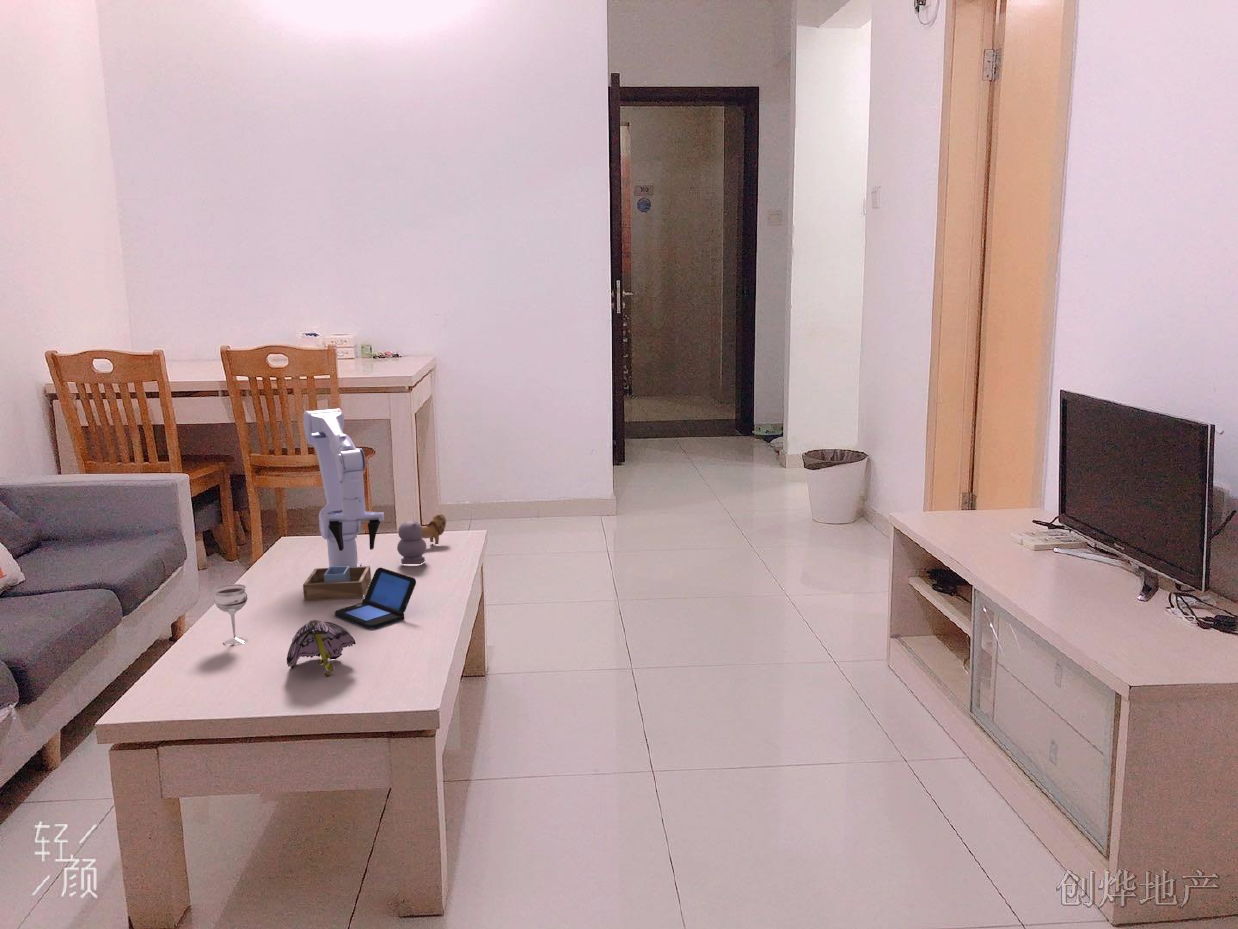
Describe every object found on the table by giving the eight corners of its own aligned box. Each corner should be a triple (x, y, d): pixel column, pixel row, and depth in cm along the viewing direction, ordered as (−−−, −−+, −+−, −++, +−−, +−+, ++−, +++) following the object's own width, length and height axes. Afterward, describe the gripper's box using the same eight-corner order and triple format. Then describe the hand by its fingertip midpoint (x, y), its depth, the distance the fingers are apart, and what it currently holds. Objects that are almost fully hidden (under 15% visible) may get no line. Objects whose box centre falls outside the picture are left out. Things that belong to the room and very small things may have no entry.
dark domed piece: (352, 607, 213) (338, 609, 198) (370, 660, 212) (356, 667, 197) (284, 630, 212) (265, 635, 197) (302, 684, 211) (283, 692, 196)
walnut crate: (316, 583, 263) (314, 568, 262) (371, 581, 264) (370, 566, 264) (304, 600, 249) (302, 584, 249) (362, 597, 251) (361, 582, 250)
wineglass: (218, 639, 224) (213, 586, 222) (251, 634, 227) (246, 582, 224) (218, 649, 218) (213, 595, 216) (252, 644, 220) (247, 591, 218)
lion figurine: (441, 540, 303) (439, 511, 301) (451, 544, 299) (449, 514, 297) (398, 550, 293) (396, 520, 291) (407, 554, 289) (405, 523, 287)
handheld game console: (332, 617, 238) (329, 579, 236) (380, 603, 248) (377, 566, 246) (371, 631, 227) (368, 591, 226) (420, 616, 237) (417, 577, 236)
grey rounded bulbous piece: (396, 560, 283) (394, 518, 280) (425, 557, 285) (422, 516, 283) (399, 569, 275) (397, 525, 272) (429, 565, 277) (426, 523, 275)
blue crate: (330, 583, 260) (329, 566, 259) (350, 583, 260) (349, 566, 259) (325, 592, 253) (323, 574, 252) (345, 591, 253) (344, 574, 253)
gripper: (320, 501, 253) (324, 554, 256) (379, 499, 254) (383, 552, 256) (326, 495, 260) (330, 546, 262) (384, 493, 261) (387, 544, 263)
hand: (356, 549), depth 260 cm, fingers open, 7 cm apart
